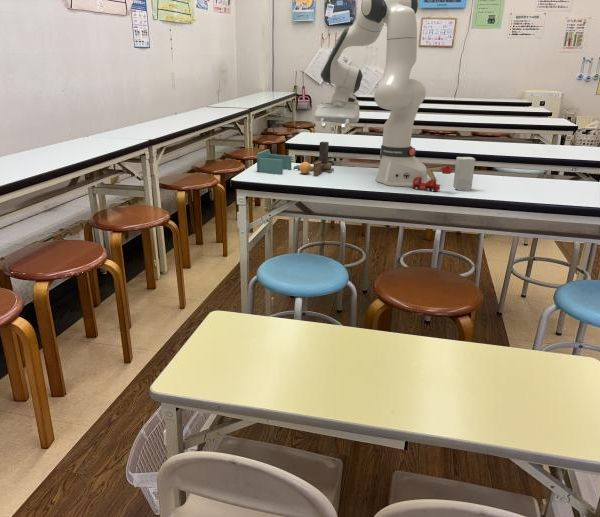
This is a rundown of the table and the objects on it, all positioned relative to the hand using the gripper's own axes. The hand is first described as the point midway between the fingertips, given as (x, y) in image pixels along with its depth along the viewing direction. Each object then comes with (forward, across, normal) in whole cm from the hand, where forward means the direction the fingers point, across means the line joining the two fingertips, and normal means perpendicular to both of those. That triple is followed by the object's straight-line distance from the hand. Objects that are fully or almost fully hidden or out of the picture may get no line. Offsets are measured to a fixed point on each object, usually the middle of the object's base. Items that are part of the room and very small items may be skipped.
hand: (333, 128), depth 225 cm
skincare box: (+27, +59, -2) cm, 65 cm away
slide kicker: (+23, 0, 0) cm, 23 cm away
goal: (+26, -20, -2) cm, 33 cm away
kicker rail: (+20, -4, +4) cm, 21 cm away
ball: (+24, -6, -4) cm, 25 cm away
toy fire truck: (+32, +48, -7) cm, 58 cm away
